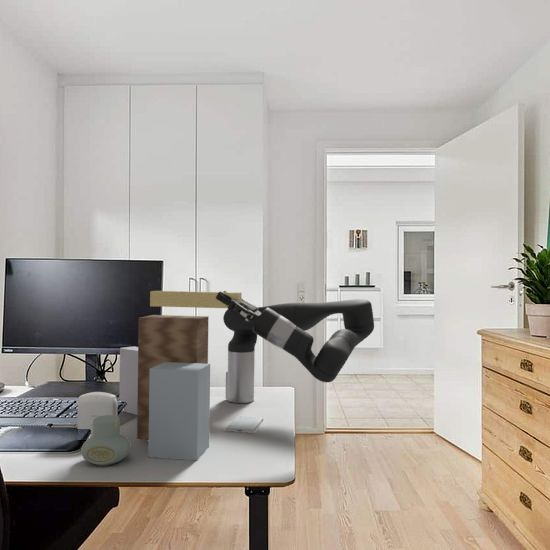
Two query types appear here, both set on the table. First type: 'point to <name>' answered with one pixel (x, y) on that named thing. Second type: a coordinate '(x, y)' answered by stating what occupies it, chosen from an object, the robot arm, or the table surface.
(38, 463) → the table surface
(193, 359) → the stand
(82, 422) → the photo printer
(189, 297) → the bar
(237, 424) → the hard drive
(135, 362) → the game console
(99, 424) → the air freshener
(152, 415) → the block
